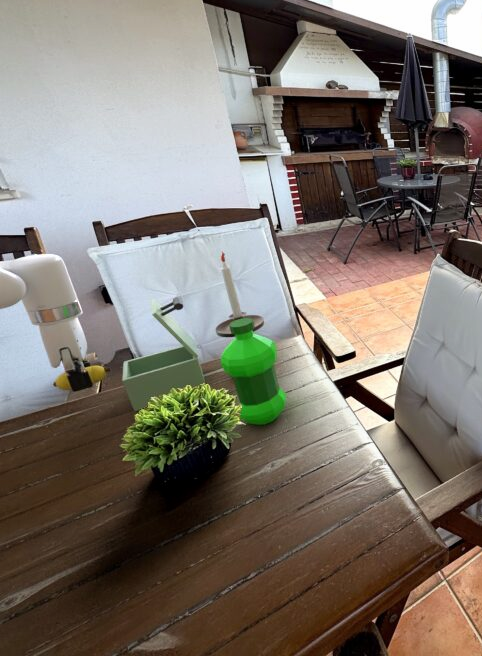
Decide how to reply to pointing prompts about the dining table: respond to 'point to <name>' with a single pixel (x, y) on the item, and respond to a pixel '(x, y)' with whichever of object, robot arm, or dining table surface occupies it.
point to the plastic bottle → (253, 373)
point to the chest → (160, 374)
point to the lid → (174, 323)
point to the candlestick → (234, 305)
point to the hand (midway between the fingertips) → (84, 383)
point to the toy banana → (94, 371)
